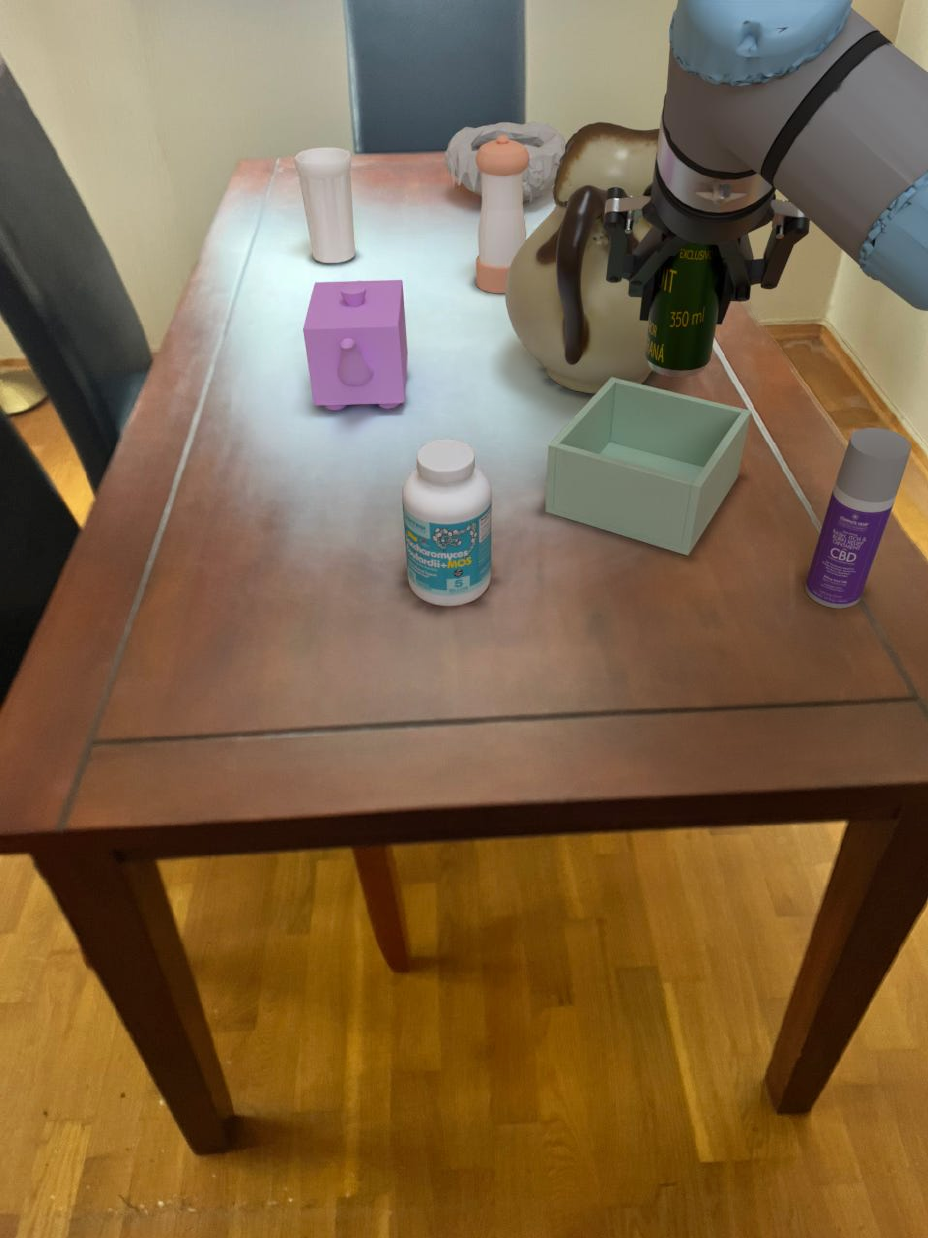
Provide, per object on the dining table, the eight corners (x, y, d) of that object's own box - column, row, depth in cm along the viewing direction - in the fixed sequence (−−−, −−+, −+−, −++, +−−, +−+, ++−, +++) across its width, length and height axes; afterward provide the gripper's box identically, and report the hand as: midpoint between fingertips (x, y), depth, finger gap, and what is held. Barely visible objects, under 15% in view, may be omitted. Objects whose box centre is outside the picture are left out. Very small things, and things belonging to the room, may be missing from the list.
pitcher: (639, 318, 122) (662, 106, 105) (733, 402, 105) (779, 168, 88) (479, 346, 117) (476, 129, 100) (551, 440, 100) (562, 199, 83)
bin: (737, 476, 94) (751, 410, 89) (688, 556, 85) (700, 487, 80) (605, 441, 100) (611, 376, 95) (545, 511, 91) (548, 444, 85)
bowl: (593, 201, 155) (598, 136, 148) (491, 227, 147) (490, 160, 140) (522, 170, 168) (524, 108, 161) (425, 192, 160) (422, 129, 153)
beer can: (692, 345, 80) (715, 199, 72) (720, 373, 76) (747, 223, 68) (634, 353, 79) (650, 207, 71) (659, 383, 75) (679, 231, 67)
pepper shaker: (524, 295, 128) (527, 144, 115) (472, 292, 129) (469, 143, 116) (530, 274, 133) (534, 128, 120) (480, 271, 134) (479, 126, 121)
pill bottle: (396, 600, 81) (383, 470, 72) (425, 550, 86) (417, 423, 77) (476, 618, 79) (474, 486, 70) (502, 565, 85) (503, 437, 75)
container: (811, 608, 79) (857, 459, 69) (799, 573, 83) (841, 426, 73) (867, 609, 79) (921, 459, 69) (852, 573, 83) (902, 426, 72)
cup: (340, 271, 135) (328, 167, 126) (296, 262, 139) (281, 159, 129) (371, 252, 141) (362, 151, 131) (328, 243, 144) (316, 143, 134)
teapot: (328, 358, 115) (314, 257, 107) (409, 355, 115) (402, 255, 107) (310, 444, 101) (293, 335, 92) (403, 441, 101) (395, 332, 92)
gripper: (559, 212, 56) (567, 344, 79) (877, 224, 53) (790, 356, 76) (571, 91, 56) (576, 258, 79) (888, 97, 54) (798, 267, 77)
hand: (681, 306), depth 78 cm, fingers closed on beer can, 5 cm apart
